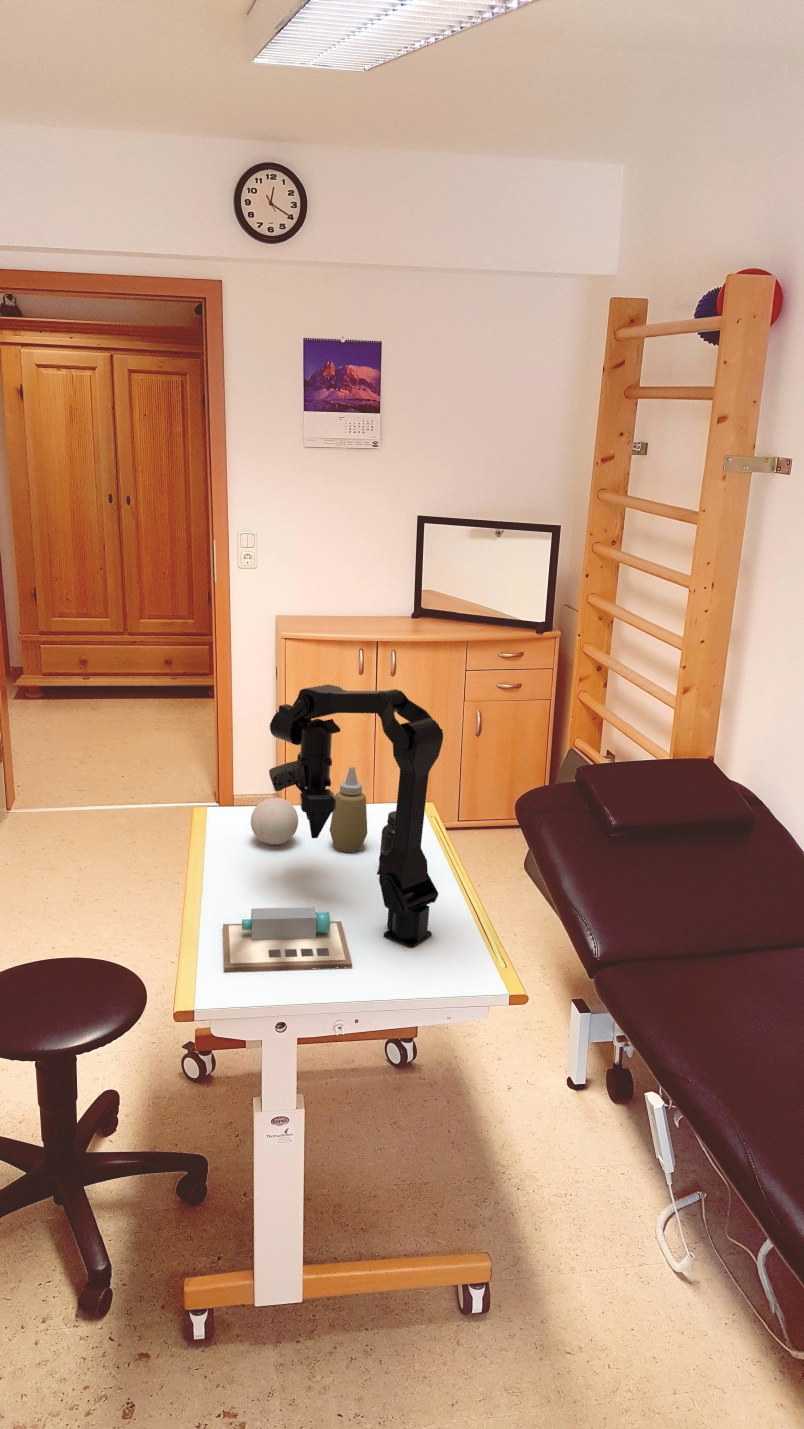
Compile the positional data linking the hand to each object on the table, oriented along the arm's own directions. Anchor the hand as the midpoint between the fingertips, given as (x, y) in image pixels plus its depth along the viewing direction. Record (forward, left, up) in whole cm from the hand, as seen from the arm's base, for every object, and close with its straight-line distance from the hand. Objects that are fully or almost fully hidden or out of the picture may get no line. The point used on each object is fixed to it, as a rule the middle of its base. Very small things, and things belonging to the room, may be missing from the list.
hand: (312, 828), depth 195 cm
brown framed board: (-12, +21, -12) cm, 28 cm away
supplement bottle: (-8, -18, -12) cm, 23 cm away
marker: (-10, +20, -11) cm, 25 cm away
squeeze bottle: (+6, -20, -12) cm, 24 cm away
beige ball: (+19, -11, -12) cm, 25 cm away
